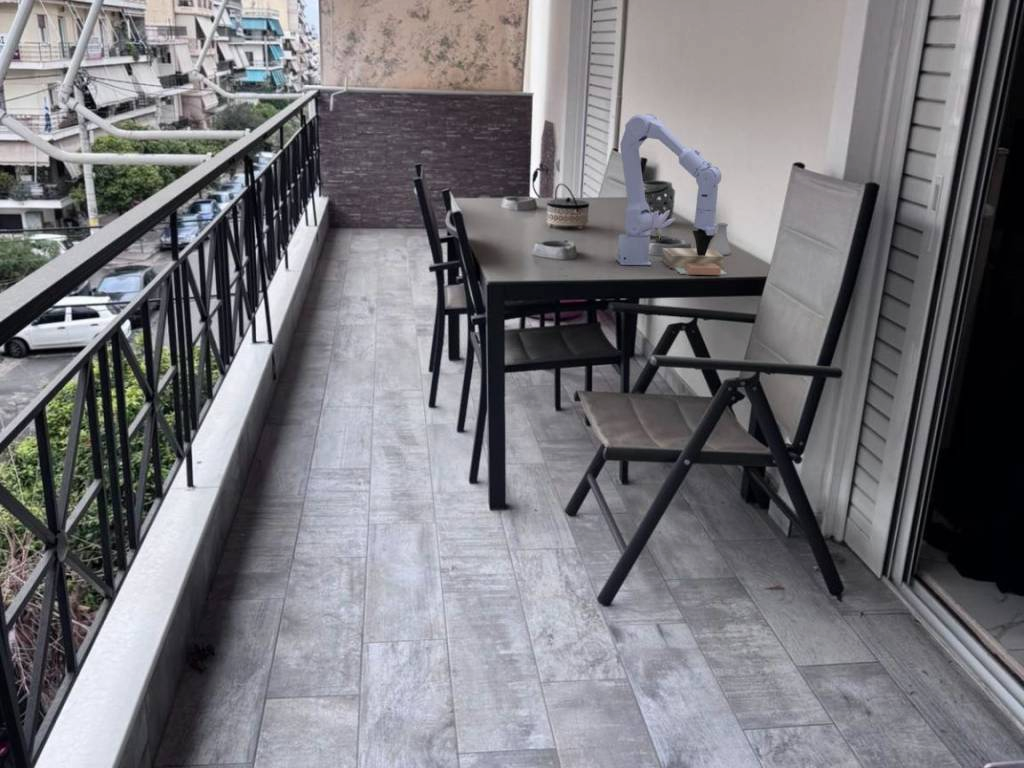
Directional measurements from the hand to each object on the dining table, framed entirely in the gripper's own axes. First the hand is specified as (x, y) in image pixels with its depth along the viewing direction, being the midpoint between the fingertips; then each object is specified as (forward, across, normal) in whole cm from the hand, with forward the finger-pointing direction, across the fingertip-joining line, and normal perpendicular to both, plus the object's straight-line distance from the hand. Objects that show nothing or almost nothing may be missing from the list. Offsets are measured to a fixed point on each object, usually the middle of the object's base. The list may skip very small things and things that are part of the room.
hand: (701, 255), depth 273 cm
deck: (+5, +9, 0) cm, 10 cm away
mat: (+5, -1, 0) cm, 5 cm away
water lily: (+5, +54, +2) cm, 54 cm away
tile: (+2, -3, 0) cm, 4 cm away
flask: (+5, +27, -14) cm, 31 cm away
